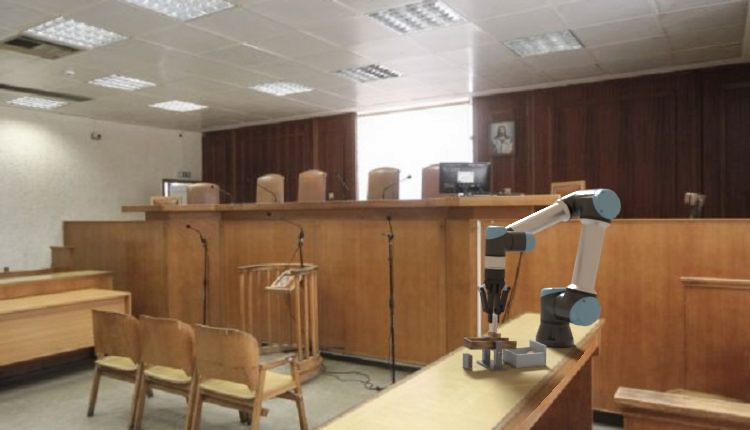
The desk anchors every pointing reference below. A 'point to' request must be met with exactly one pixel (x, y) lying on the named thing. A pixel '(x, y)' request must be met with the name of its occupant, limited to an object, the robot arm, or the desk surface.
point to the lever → (488, 342)
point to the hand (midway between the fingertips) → (493, 331)
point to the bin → (526, 355)
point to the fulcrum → (487, 358)
